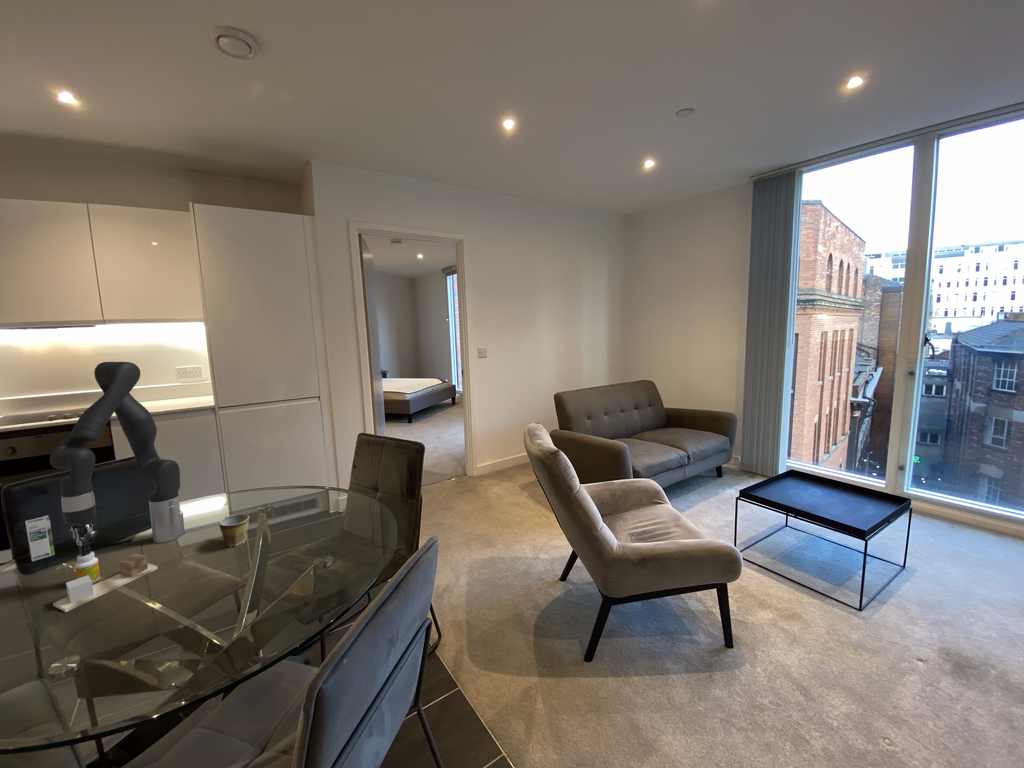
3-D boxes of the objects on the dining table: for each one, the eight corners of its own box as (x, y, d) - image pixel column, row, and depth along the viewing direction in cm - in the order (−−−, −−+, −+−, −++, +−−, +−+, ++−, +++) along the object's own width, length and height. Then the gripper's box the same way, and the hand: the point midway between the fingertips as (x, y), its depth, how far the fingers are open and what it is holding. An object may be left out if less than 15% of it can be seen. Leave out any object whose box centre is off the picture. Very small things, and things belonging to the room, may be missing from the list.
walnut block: (136, 566, 144) (134, 553, 143) (147, 568, 143) (146, 555, 142) (120, 574, 139) (119, 561, 138) (132, 576, 138) (130, 563, 137)
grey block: (90, 589, 131) (88, 574, 131) (93, 595, 129) (91, 580, 128) (68, 597, 127) (65, 582, 127) (70, 603, 124) (68, 588, 124)
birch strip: (145, 564, 147) (145, 561, 147) (157, 568, 145) (157, 566, 144) (53, 606, 125) (52, 603, 124) (65, 612, 122) (65, 609, 122)
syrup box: (31, 562, 147) (26, 525, 145) (30, 556, 150) (24, 520, 148) (55, 555, 151) (49, 519, 149) (53, 549, 155) (48, 514, 153)
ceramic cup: (255, 541, 164) (253, 518, 163) (227, 552, 156) (226, 528, 155) (240, 531, 171) (238, 509, 170) (213, 542, 163) (211, 519, 161)
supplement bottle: (85, 587, 134) (81, 560, 132) (73, 584, 135) (69, 558, 133) (104, 577, 139) (101, 551, 138) (92, 575, 140) (89, 549, 139)
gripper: (105, 504, 134) (111, 552, 137) (82, 498, 139) (89, 544, 141) (74, 514, 127) (81, 564, 130) (52, 507, 132) (59, 556, 134)
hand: (85, 554), depth 135 cm, fingers closed
